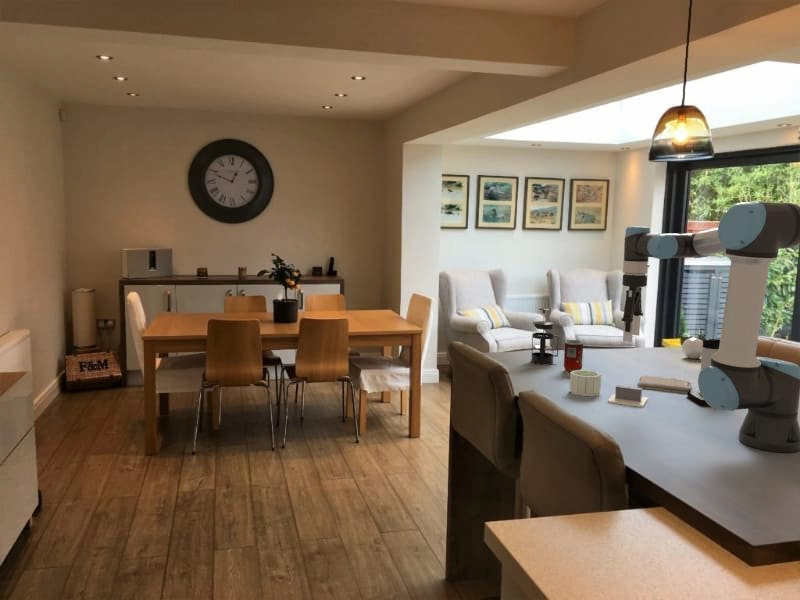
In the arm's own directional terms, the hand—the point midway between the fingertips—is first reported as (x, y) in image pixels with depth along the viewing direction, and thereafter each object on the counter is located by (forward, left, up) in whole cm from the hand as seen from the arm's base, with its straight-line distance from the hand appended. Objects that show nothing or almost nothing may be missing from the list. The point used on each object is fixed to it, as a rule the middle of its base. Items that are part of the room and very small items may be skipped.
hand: (631, 338), depth 212 cm
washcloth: (+26, -8, -22) cm, 35 cm away
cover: (0, 0, -22) cm, 22 cm away
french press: (+43, +42, -22) cm, 64 cm away
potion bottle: (+86, -15, -22) cm, 90 cm away
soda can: (+33, +27, -22) cm, 48 cm away
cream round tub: (+3, +15, -21) cm, 26 cm away
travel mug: (+23, -23, -22) cm, 39 cm away
